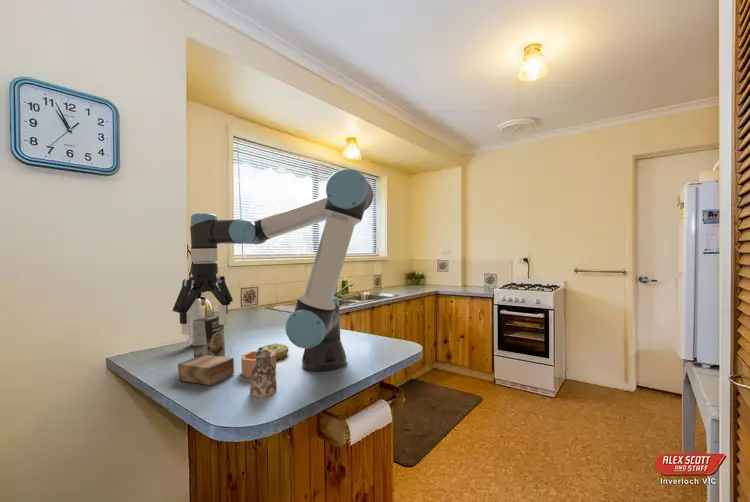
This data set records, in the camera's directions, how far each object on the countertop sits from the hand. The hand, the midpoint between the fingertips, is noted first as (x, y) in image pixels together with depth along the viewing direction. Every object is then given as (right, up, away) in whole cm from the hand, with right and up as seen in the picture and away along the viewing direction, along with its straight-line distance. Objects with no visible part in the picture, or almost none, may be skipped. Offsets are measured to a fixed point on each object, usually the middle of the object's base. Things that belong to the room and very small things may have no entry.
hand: (205, 329), depth 106 cm
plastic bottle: (-23, -16, +38) cm, 47 cm away
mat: (+1, -15, 0) cm, 15 cm away
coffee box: (-6, -16, +15) cm, 23 cm away
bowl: (+16, -15, +3) cm, 22 cm away
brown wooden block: (+1, -15, 0) cm, 15 cm away
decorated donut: (+16, -15, +18) cm, 29 cm away
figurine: (+23, -15, -12) cm, 30 cm away
